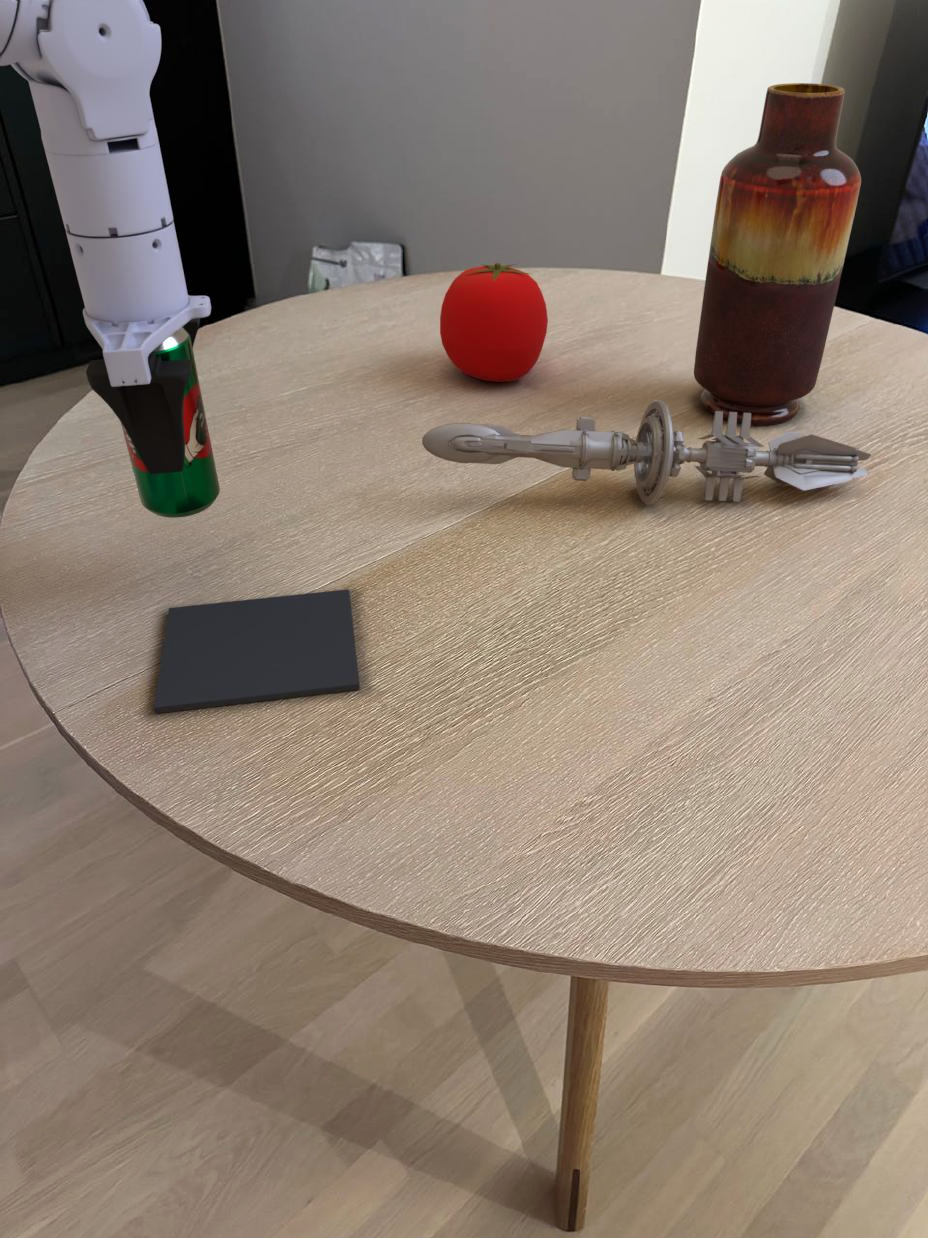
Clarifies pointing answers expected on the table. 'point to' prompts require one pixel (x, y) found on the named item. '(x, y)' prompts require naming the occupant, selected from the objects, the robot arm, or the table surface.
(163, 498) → the soda can
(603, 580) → the table surface
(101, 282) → the robot arm
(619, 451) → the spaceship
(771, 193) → the vase
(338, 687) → the mat
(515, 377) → the tomato
